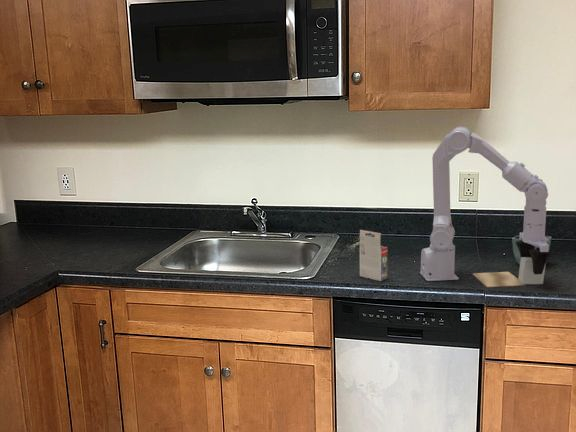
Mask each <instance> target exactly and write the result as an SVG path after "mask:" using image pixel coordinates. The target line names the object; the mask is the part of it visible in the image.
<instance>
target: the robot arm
mask: <svg viewBox="0 0 576 432" xmlns="http://www.w3.org/2000/svg"><path fill="white" fill-rule="evenodd" d="M467 149H468V153H472V154H479V155H481V156H482V157H484V158H485V159H486V160H488V162H490V163H491V164H492V165H493V166H495V167H497V168H498V169H499V170H500V171H501V175H502V176H501V177H502V179H504V180H505V181H507V183H508V184H510V185H511V186H512V187H514V188H515V189H516V190H517V191H519V192H521V193H524V196H525V205H524V209H523V212H524V213H523V228H522V229H523V230H522V232H520V231H519V239H521V241H516V245H517V247H518V249H519V252H520V256H521V257H532V262H533V272H534V274H535V275H536V274H542V272H543V270H544V266H545V264H547V261H548V259H549V258H550V257H551V255H552V253H553V251H552V250H550V248H549V245H548V244H547V243H546V241H549V239H548V238H547V237H545V236H546V221H547V220H546V219H547V207H546V206H547V198H548V197H549V192H548V190H549V189H548V187H547V184H546V183H545V182H544V181H543V179H541V178H539V176H538V175H537V174H533V173H532V172H531V171H529V170H528V169H527V168H525V167H526V165H525V164H524V163H523V162H518V161H510V160H508V159H507V158H506V157H504V155H502V154H501V153H500V152H499V151H498V150H497V149H495V148H494V146H492V145H491V144H490V143H488V141H486V140H485V139H484V138H483V137H481V136H480V135H478V134H477V133H475V132H472V131H471V130H470V129H469V128H468V127H465V126H457V127H455V128H454V129H451V131H449V132H448V133H447V134H446V135H445V136H444V137H443V138H442V141H441V142H440V143H439V145H438V147H437V148H436V150H435V151H434V152H433V153H432V186H433V187H432V188H433V189H432V190H433V191H432V193H433V223H432V232H431V234H430V236H429V242H430V244H429V247H425V248H422V249H421V250H420V251H421V253H420V272H419V274H420V275H421V276H422V277H423V278H424V280H426V281H427V282H435V281H457V280H459V279H460V278H459V277H458V276H457V275H456V273H455V259H456V258H455V257H456V256H455V255H456V245H455V244H454V243H453V241H454V237H455V234H456V231H455V227H454V226H453V224H452V216H451V215H452V214H451V179H450V177H451V176H450V162H451V161H452V160H453V159H454V157H455V156H457V155H459V154H461V153H463V152H465V151H467ZM535 247H536V249H534V248H535ZM545 267H546V266H545Z"/></svg>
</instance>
